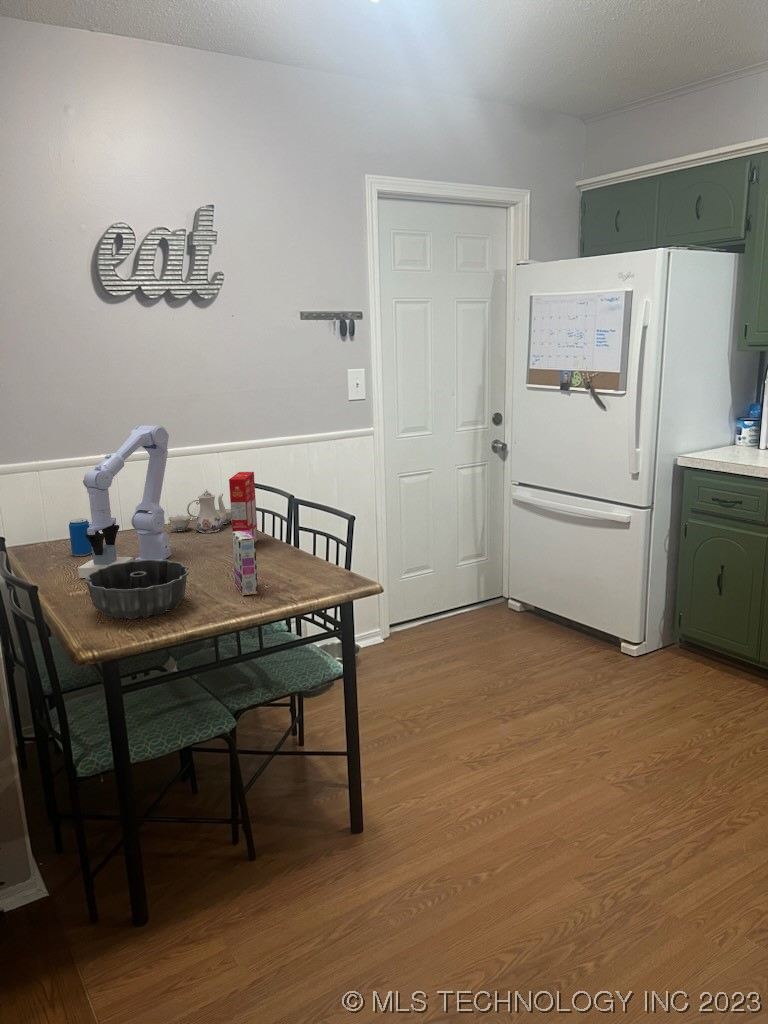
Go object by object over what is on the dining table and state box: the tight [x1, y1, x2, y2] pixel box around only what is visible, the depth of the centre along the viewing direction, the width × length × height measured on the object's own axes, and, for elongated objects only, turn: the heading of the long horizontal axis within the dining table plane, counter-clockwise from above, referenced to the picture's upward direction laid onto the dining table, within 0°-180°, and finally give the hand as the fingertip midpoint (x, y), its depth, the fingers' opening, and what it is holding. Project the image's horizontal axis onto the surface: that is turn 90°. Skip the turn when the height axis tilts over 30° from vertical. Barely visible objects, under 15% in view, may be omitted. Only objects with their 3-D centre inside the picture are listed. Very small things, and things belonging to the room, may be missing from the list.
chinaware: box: [166, 489, 232, 532], centre depth 287 cm, size 28×17×17 cm, turn 130°
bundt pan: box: [84, 559, 190, 620], centre depth 202 cm, size 26×26×10 cm
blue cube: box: [91, 544, 117, 565], centre depth 233 cm, size 5×5×5 cm
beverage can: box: [68, 518, 93, 557], centre depth 255 cm, size 6×6×12 cm
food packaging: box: [228, 471, 259, 540], centre depth 261 cm, size 15×5×25 cm, turn 178°
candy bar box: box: [231, 530, 259, 593], centre depth 214 cm, size 11×5×16 cm, turn 21°
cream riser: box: [77, 556, 134, 578], centre depth 234 cm, size 12×12×4 cm
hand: (104, 551), depth 233 cm, fingers open, 7 cm apart
